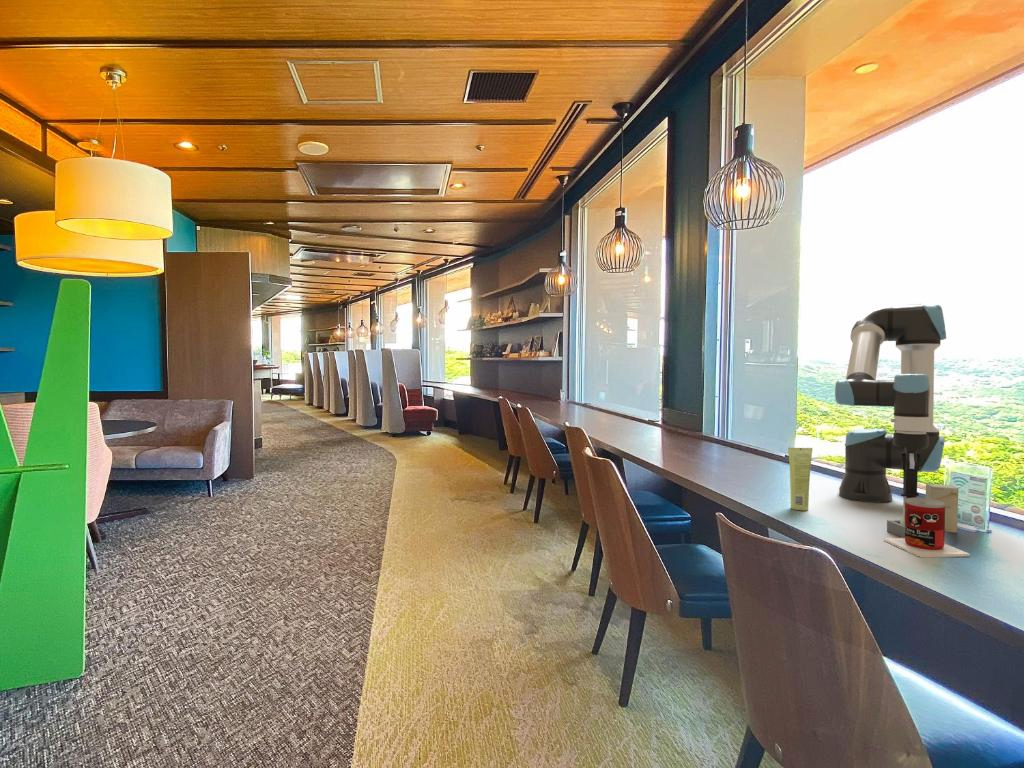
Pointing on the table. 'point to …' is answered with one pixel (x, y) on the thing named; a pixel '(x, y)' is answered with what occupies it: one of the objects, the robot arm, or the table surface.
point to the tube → (799, 477)
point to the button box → (896, 528)
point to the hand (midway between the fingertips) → (909, 520)
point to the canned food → (925, 523)
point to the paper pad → (945, 552)
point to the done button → (902, 522)
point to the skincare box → (946, 503)
